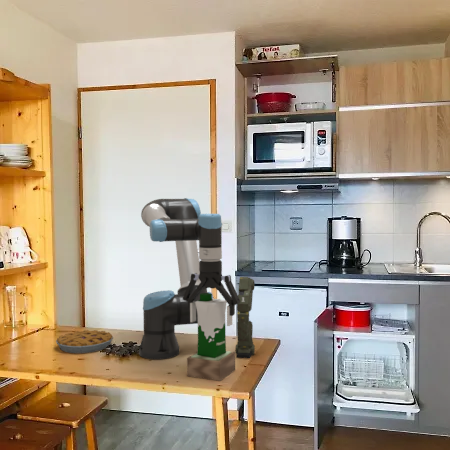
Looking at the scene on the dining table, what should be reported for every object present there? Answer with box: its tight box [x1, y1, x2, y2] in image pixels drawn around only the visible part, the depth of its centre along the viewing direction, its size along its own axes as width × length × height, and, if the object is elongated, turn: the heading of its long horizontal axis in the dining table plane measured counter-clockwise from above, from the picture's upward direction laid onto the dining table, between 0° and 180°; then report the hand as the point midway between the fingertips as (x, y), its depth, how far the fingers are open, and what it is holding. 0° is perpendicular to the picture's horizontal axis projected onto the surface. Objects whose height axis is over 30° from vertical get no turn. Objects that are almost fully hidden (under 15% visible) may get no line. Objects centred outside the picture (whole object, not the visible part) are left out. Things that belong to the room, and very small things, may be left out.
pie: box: [55, 329, 114, 354], centre depth 205 cm, size 22×22×5 cm
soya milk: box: [195, 292, 228, 358], centre depth 171 cm, size 9×9×20 cm
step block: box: [186, 350, 236, 382], centre depth 172 cm, size 12×12×6 cm
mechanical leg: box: [234, 276, 256, 359], centre depth 194 cm, size 14×7×30 cm, turn 168°
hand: (211, 323), depth 171 cm, fingers open, 13 cm apart
